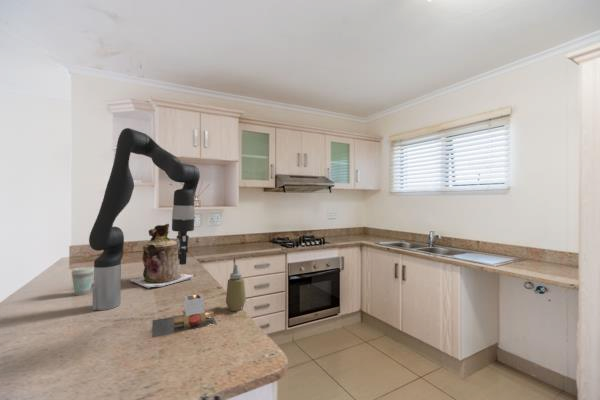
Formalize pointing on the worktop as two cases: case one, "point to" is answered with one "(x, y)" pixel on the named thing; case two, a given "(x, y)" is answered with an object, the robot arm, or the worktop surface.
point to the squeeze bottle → (235, 291)
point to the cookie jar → (161, 260)
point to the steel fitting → (193, 304)
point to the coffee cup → (82, 280)
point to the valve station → (182, 323)
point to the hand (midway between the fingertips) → (181, 261)
